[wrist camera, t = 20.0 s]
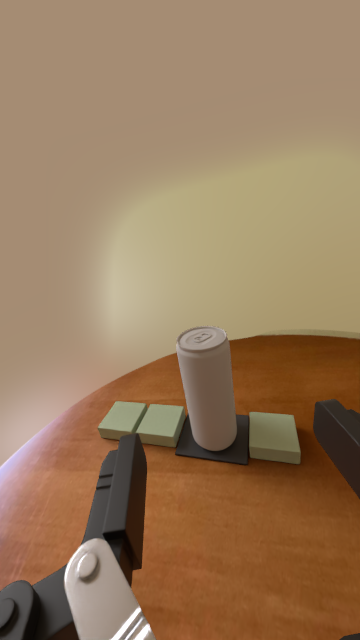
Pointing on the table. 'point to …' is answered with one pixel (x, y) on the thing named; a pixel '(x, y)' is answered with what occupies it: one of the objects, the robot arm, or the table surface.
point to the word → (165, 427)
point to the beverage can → (208, 385)
